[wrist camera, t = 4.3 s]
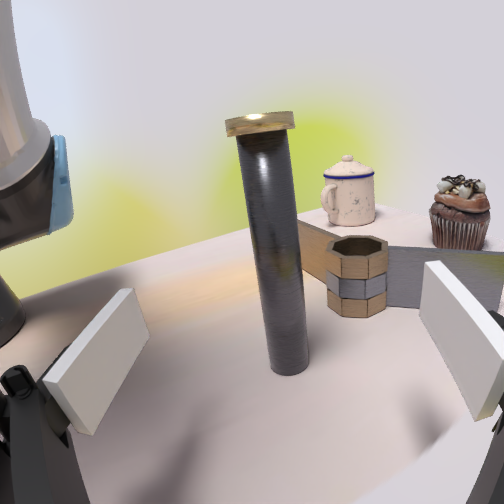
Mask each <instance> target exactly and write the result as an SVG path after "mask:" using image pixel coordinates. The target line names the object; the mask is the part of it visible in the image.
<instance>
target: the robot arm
mask: <svg viewBox="0 0 504 504" xmlns="http://www.w3.org/2000/svg"><path fill="white" fill-rule="evenodd" d="M73 214H74V213H73V204H72V196H71V188H70V180H69V171H68V162H67V152H66V143H65V137H64V136H61V135H60V136H57V135H54V136H52V138H51V135H50V131H49V129H48V126H47V125H46V124H45V123H44V122H42V121H41V120H38V119H34V118H32V116H31V111H30V108H29V104H28V100H27V97H26V92H25V87H24V83H23V78H22V74H21V69H20V64H19V59H18V53H17V46H16V40H15V33H14V26H13V17H12V7H11V0H0V250H3V249H6V248H9V247H12V246H15V245H18V244H21V243H24V242H27V241H30V240H32V239H36V238H39V237H42V236H45V235H50V234H51V233H52V232H54V231H56V230H59V229H61V228H63V227H66V226H67V225H69V224H70V222H71V221H72V219H73ZM25 316H26V315H25V312H24V309H23V307H22V305H21V302H20V300H19V299H18V298H17V297H16V295H15V294H14V293H13V291H12V290H11V289H10V287H9V286H8V285H7V284H6V282H5V281H4V280H3V278H2V277H1V276H0V346H2V345H3V344H4V343H6V342H7V341H8V340H9V339H10V338H11V337H13V336H14V335H15V333H16V332H17V331H18V330H19V329H20V327H21V326H22V324H23V323H24V320H25ZM419 317H420V319H421V320H422V322H423V324H424V325H425V327H426V329H427V331H428V332H429V334H430V336H431V338H432V339H433V341H434V343H435V345H436V346H437V348H438V350H439V352H440V354H441V355H442V357H443V359H444V361H445V363H446V365H447V367H448V369H449V370H450V372H451V374H452V376H453V378H454V380H455V382H456V384H457V386H458V388H459V390H460V392H461V394H462V396H463V398H464V400H465V402H466V404H467V406H468V409H469V411H470V413H471V415H472V417H473V419H474V421H475V422H476V421H479V420H481V419H484V418H487V417H490V416H492V415H493V413H494V411H495V410H496V408H497V406H498V404H499V405H500V407H501V408H502V411H503V412H502V414H501V416H500V417H499V419H498V421H497V422H496V424H495V426H494V428H493V429H492V432H494V431H495V433H494V436H493V440H492V442H491V445H490V448H489V451H488V453H487V456H486V459H485V461H484V464H483V466H482V469H481V471H480V474H479V476H478V478H477V481H476V483H475V485H474V488H473V490H472V492H471V494H470V496H469V498H468V500H467V502H466V504H504V317H503V316H501V315H500V314H498V313H496V312H495V311H493V310H491V311H486V310H485V308H484V307H483V306H482V305H481V304H480V303H479V302H478V301H477V299H476V298H475V297H474V296H473V295H472V294H471V293H470V292H469V291H468V289H467V288H466V287H465V286H464V285H463V284H462V283H461V282H460V281H459V280H458V279H457V278H456V277H455V276H454V275H453V274H452V273H451V272H450V270H449V269H448V268H447V267H446V266H445V265H444V264H443V263H442V262H441V261H440V260H438V261H430V262H425V264H424V276H423V286H422V295H421V303H420V310H419ZM149 337H150V334H149V332H148V329H147V326H146V323H145V320H144V317H143V315H142V312H141V309H140V306H139V303H138V300H137V297H136V294H135V291H134V288H125V289H120V290H119V291H118V292H117V293H116V294H115V295H114V296H113V297H112V298H111V300H110V301H109V302H108V303H107V304H106V305H105V306H104V307H103V308H102V310H101V311H100V312H99V313H98V314H97V315H96V316H95V317H94V319H93V320H92V321H91V322H90V323H89V324H88V325H87V327H86V328H85V329H84V330H83V331H82V332H81V333H80V335H79V336H78V337H77V338H76V339H75V340H74V342H72V343H71V344H70V345H68V346H67V347H65V348H64V349H63V351H62V352H61V353H60V354H59V355H58V357H57V358H56V359H55V360H54V361H53V364H51V365H50V366H49V367H48V369H47V370H46V371H45V372H44V373H43V375H42V376H41V377H40V378H39V380H38V381H37V382H36V383H35V381H34V379H33V378H32V376H31V374H30V373H29V371H28V369H27V368H26V367H25V366H24V365H17V366H13V367H11V368H9V369H8V370H7V371H5V372H4V373H3V375H2V376H1V378H0V383H1V384H2V386H3V387H4V389H5V390H6V392H7V393H8V395H4V394H3V393H2V391H1V390H0V434H1V435H2V436H3V437H4V440H3V442H1V441H0V504H90V501H89V498H88V495H87V492H86V489H85V486H84V483H83V480H82V476H81V473H80V469H79V466H78V462H77V458H76V454H75V450H74V446H73V442H72V438H71V434H70V432H69V430H68V429H67V427H68V425H69V424H70V423H71V424H72V425H73V427H74V428H75V429H76V431H77V432H78V433H82V434H86V435H90V436H93V435H94V433H95V431H96V429H97V427H98V426H99V424H100V422H101V420H102V418H103V417H104V415H105V413H106V411H107V409H108V408H109V406H110V404H111V402H112V401H113V399H114V397H115V395H116V393H117V392H118V390H119V388H120V386H121V385H122V383H123V381H124V379H125V378H126V376H127V374H128V373H129V371H130V369H131V367H132V366H133V364H134V362H135V361H136V359H137V357H138V355H139V354H140V352H141V350H142V349H143V347H144V345H145V344H146V342H147V340H148V339H149ZM495 429H496V430H495Z"/></svg>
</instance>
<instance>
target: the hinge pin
mask: <svg viewBox="0 0 504 504" xmlns="http://www.w3.org/2000/svg"><path fill="white" fill-rule="evenodd" d="M225 124H226V131H227V137H232V136H236V140H237V147H238V153H239V160H240V166H241V173H242V180H243V186H244V193H245V199H246V206H247V213H248V218H249V225H250V232H251V239H252V246H253V252H254V259H255V265H256V272H257V279H258V285H259V292H260V299H261V305H262V312H263V319H264V325H265V332H266V339H267V345H268V352H269V359H270V365H271V369H272V370H273V371H274V372H275V373H277V374H280V375H284V376H291V375H296V374H299V373H301V372H302V371H304V370H305V369H306V368H307V366H308V362H309V361H308V343H307V327H306V312H305V299H304V286H303V274H302V262H301V251H300V241H299V230H298V220H297V211H296V202H295V193H294V184H293V176H292V168H291V159H290V152H289V144H288V137H287V129H293V128H295V124H294V117H293V112H291V111H290V112H289V111H285V112H271V113H262V114H256V115H255V114H254V115H248V116H242V117H237V118H232V119H228V120H225Z"/></svg>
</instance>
